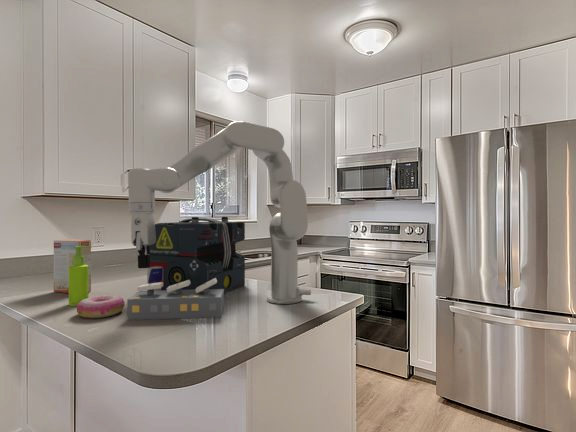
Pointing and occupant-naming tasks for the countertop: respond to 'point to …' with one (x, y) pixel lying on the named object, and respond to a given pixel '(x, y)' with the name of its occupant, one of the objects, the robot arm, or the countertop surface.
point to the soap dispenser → (78, 278)
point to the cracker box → (69, 262)
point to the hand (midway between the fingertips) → (144, 267)
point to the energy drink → (155, 275)
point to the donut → (100, 306)
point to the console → (175, 304)
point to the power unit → (200, 253)
